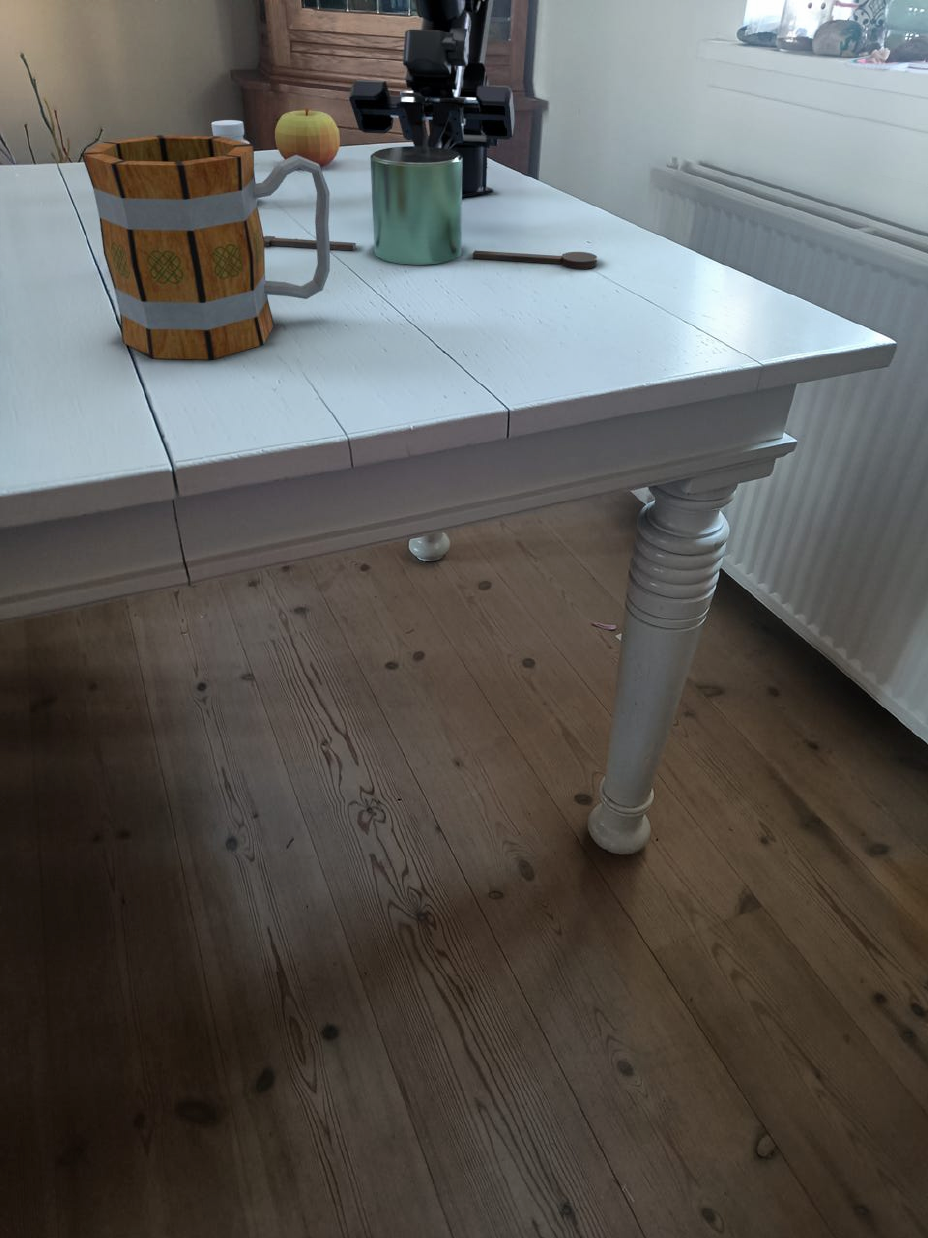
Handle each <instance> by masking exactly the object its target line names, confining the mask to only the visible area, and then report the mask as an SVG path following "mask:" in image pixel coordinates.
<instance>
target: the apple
mask: <svg viewBox="0 0 928 1238" xmlns="http://www.w3.org/2000/svg"><path fill="white" fill-rule="evenodd" d="M274 139H275V145H276V148H277V150H278V152H279V154H280V156H281V157H282V158H283V160H286V159H288V158H290V157H292V156H294V155H298V156H301V157H303V158H305V159H308V160H310V161H313V162H315V163H318V164H319V166H320V168H322V167H326V166H327V165H329V164H330V163H331V162H332V161H333V160H334V159H335V158H336V156H337V155H338V152H339V149H340V145H341V137H340V130H339V128H338V125H337V123H336V122H335V120H334V119H333V118H332V117H331V115H329V114H328V113H326V112H322V111H320V110H319V111H318V110H310V109H309V108H305V109H304V110H293V111H288V112H286V113H283V114H282V115H281V117H280V118H279V120H278V121H277V123H276V126H275V129H274Z"/></svg>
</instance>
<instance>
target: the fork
mask: <svg viewBox="0 0 928 1238" xmlns="http://www.w3.org/2000/svg"><path fill="white" fill-rule="evenodd" d="M329 243H330V250H333V251H334V250H335V251H349V252H350V251H351V252H354V251H355V250H356V249H357V243H356V242H347V241H335V240H333V241H332V240H329ZM271 246H272V247H288V248H290V247H291V248H302V249H303V248H304V249H305V248H306V249H317V241H316V239H301V238H287V237H286V238H285V237H276V236H275V235H265V236H264V248H265V247H266V248H268V247H271Z"/></svg>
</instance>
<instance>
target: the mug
mask: <svg viewBox="0 0 928 1238" xmlns="http://www.w3.org/2000/svg"><path fill="white" fill-rule="evenodd" d="M254 149H255V145H254V144H251V143H250V144H248V143H244V142H240V141H236V140H232V139H228V138H224V137H220V136H213V135H168V134H167V135H163V134H159V135H152V136H151V135H150V136H144V137H143V136H142V137H135V138H134V137H133V138H128V139H118V140H110V141H102V142H100V143H99V144H97V145H95V146H94V147H92V148H90V149H88V150H86V151H84V152H82V153H81V157H82V160H83V163H84V165H85V169H86V171H87V172H86V173H87V174H88V177H89V180H90V183H91V186H92V190H93V194H94V199H95V200H94V201H95V204H96V208H97V209H96V210H97V213H98V219H99V225H100V232H101V235H100V236H101V243H102V249H103V250H102V252H103V256H104V259H105V262H106V265H107V269H108V272H109V275H110V279H111V283H112V285H113V290H114V293H115V297H116V302H117V307H118V312H119V319H120V329H121V330H120V331H121V341H122V343H123V344H125V345H127V346H128V347H131V348H132V349H133V350H136V351H137V352H139V353H141V354H143V355H144V356H147V357H148V358H150V359H167V360H171V359H172V360H215V359H219V358H223V357H226V356H229V355H233V354H237V353H240V352H244V351H246V350H250V349H254V348H257V347H261V346H264V344H265V342H266V340H267V339H268V337H269V335H270V333H271V332H272V329H273V328H274V325H275V324H274V319H273V315H272V310H271V306H270V302H269V299H268V295H269V296H270V295H271V296H282V297H291V298H297V299H304V300H308V299H309V298H311V297H313V296H314V295H317V294H319V293H320V292H322V291H323V290H324V287H325V285H326V282H327V279H328V277H329V274H330V271H331V249H330V243H329V241H330V230H329V229H330V228H329V227H330V226H329V221H330V219H329V218H330V189H329V187H328V183H327V181H326V179H325V176H324V174H323V171H322V169H321V168H322V167H320V166H319V164H318V163H315V162H313V161H310V160H308V159H305V158H303V157H301V156H298V155H294V156H292V157H290V158H288V159H286V160H285V159H283V160H282V161H279V162H278V163H276V164H275V166H274V168H273V169H272V171H271V172H270V173H269V174H268V176H267V177H266V178H265V179H264V180H263V181H262V182H256V181H255V182H256V184H255V182H254V174H255V150H254ZM299 169H300V170H303V171H305V172H308V173H310V174H311V176H312V179H313V183H314V186H315V191H316V202H315V203H316V204H315V217H314V218H315V219H314V224H315V225H314V226H315V240H316V241H317V248H316V254H317V255H316V256H317V257H316V258H317V259H316V260H317V265H316V268H315V271H314V274H313V277H312V280H310V281H308V282H307V283H305V284H303V285H298V284H294V283H289V282H287V281H275V280H266V268H265V264H266V263H265V262H266V261H265V256H266V255H265V246H264V237H265V236H264V232H263V227H262V223H261V218H260V212H259V207H258V202H257V199H256V198H258V199H261V198H266V197H270V196H272V195H273V194H274V193H275V192H276V191H277V190H278V189H279V188H280V186H281V185H282V183H283V182H284V180H285V179H286V178H287V176H288V175H290V174H292V173H293V172H295V171H297V170H299Z"/></svg>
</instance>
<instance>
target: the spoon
mask: <svg viewBox="0 0 928 1238" xmlns="http://www.w3.org/2000/svg"><path fill="white" fill-rule="evenodd" d="M472 259H476V260H490V261H503V262H504V261H507V262H519V263H520V262H522V263H536V264H537V263H538V264H552V265H561V266H563V267H566V268H569V269H574V270H587V269H593V268H596V267H597V266H598V259H599V258H598V256H597V255H596V254H594V253H592V252H591V253H590V252H586V251H570V252H569V251H568V252H565V253H563V254H562V255H555V254H553V255H552V254H536V253H524V252H523V253H520V252H505V251H489V250H477V249H476V250H474V251H473V253H472Z"/></svg>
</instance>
